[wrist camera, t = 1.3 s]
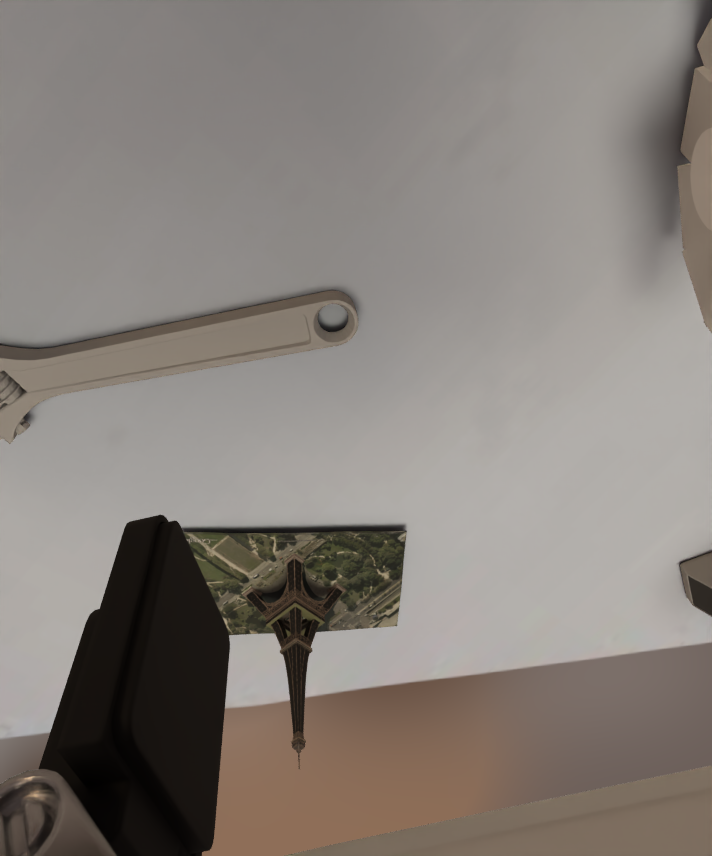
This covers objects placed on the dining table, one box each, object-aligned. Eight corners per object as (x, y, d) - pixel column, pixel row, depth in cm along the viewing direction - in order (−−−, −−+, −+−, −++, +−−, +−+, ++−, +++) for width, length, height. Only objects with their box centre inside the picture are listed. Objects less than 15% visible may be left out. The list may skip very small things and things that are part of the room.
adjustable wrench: (353, 283, 35) (356, 295, 34) (361, 388, 39) (365, 403, 37) (-127, 336, 34) (-145, 351, 32) (-74, 439, 37) (-88, 457, 36)
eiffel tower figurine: (409, 521, 44) (453, 695, 33) (396, 625, 50) (431, 805, 38) (181, 528, 43) (145, 712, 31) (194, 634, 48) (167, 825, 37)
